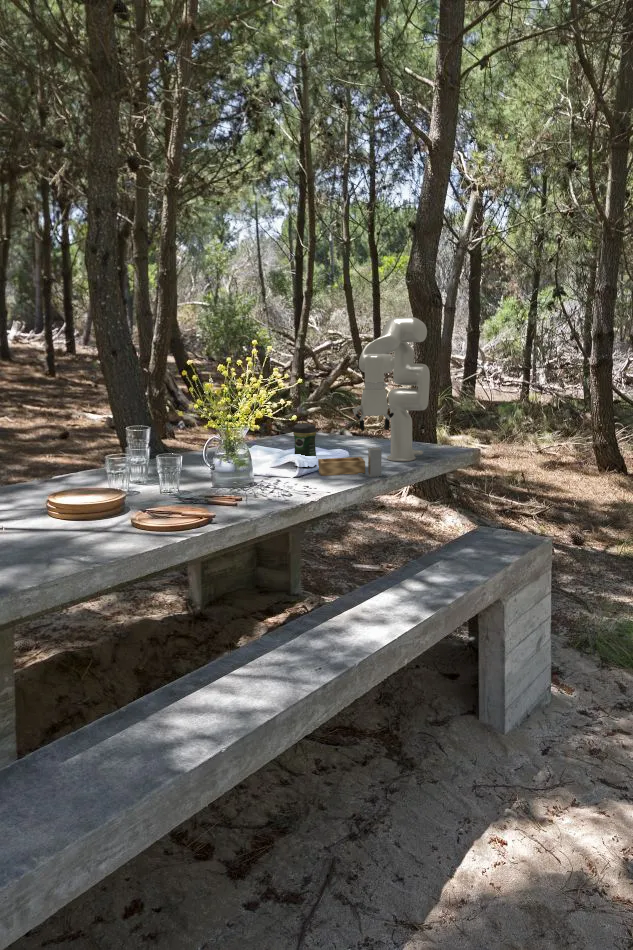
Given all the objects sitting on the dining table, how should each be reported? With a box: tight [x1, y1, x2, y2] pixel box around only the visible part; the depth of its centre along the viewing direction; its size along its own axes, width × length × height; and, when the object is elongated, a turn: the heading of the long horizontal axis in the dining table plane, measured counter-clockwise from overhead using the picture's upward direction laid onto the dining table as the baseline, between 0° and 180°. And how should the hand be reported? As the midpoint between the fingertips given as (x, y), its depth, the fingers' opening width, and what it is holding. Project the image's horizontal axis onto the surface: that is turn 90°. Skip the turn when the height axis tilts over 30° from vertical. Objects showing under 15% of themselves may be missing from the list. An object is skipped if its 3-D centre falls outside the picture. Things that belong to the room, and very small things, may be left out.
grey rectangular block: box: [367, 447, 383, 478], centre depth 326 cm, size 4×4×11 cm
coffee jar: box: [292, 423, 317, 457], centre depth 348 cm, size 10×8×19 cm
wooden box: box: [317, 456, 366, 477], centre depth 334 cm, size 18×10×5 cm, turn 97°
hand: (374, 429), depth 323 cm, fingers open, 9 cm apart
